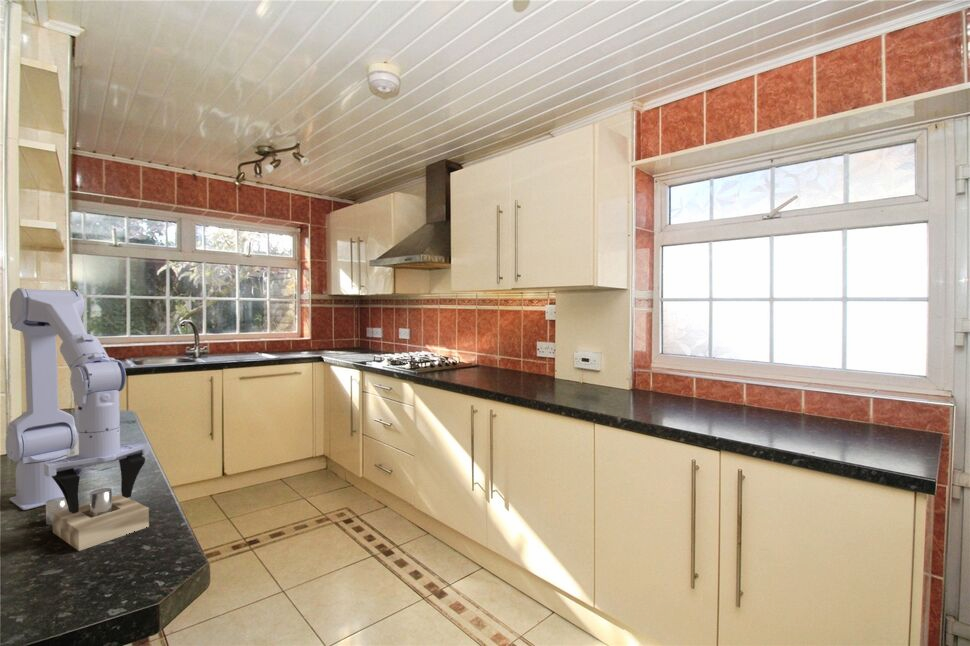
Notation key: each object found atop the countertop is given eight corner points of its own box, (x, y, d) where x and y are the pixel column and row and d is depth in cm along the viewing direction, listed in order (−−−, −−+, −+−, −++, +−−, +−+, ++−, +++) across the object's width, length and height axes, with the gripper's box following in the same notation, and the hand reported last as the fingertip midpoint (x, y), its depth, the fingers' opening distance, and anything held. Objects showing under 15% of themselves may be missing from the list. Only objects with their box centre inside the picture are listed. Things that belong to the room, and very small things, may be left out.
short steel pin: (44, 522, 85) (43, 501, 85) (65, 516, 88) (65, 495, 87) (48, 526, 83) (48, 504, 83) (70, 520, 86) (69, 499, 86)
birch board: (52, 532, 81) (52, 512, 81) (120, 511, 90) (120, 493, 90) (78, 551, 75) (78, 530, 75) (148, 526, 83) (148, 507, 83)
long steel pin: (87, 530, 82) (87, 492, 82) (108, 524, 84) (108, 486, 84) (93, 535, 80) (93, 495, 80) (114, 528, 83) (114, 490, 83)
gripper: (53, 442, 74) (55, 525, 74) (156, 423, 86) (157, 494, 86) (38, 435, 77) (40, 514, 78) (139, 418, 90) (140, 486, 90)
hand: (101, 503), depth 82 cm, fingers open, 7 cm apart
